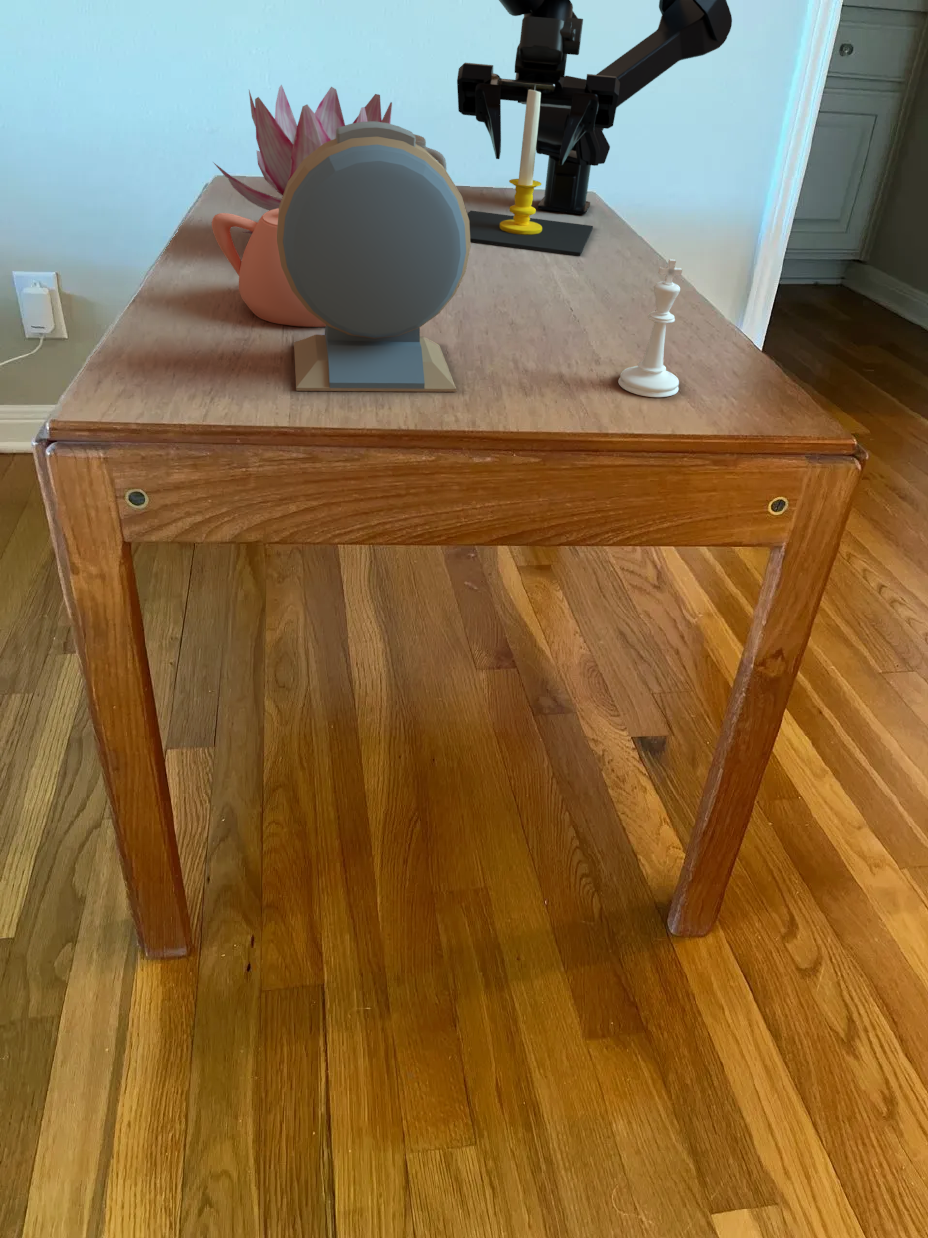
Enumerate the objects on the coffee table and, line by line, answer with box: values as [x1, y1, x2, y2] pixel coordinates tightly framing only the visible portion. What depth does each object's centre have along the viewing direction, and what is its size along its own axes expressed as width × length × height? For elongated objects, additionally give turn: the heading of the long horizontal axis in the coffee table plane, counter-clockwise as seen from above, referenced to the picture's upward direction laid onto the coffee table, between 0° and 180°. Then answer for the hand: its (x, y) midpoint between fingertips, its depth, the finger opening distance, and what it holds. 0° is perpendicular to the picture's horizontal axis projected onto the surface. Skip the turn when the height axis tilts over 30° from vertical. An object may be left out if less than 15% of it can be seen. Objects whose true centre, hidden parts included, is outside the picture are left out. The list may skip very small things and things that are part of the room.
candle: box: [500, 87, 542, 235], centre depth 112 cm, size 5×5×16 cm
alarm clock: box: [277, 121, 472, 393], centre depth 71 cm, size 14×10×18 cm
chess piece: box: [617, 258, 683, 398], centre depth 75 cm, size 5×5×10 cm
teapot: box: [211, 208, 326, 328], centre depth 85 cm, size 12×18×10 cm
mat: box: [467, 210, 594, 257], centre depth 116 cm, size 14×16×1 cm
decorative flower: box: [212, 84, 393, 235], centre depth 99 cm, size 21×21×15 cm
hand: (529, 159), depth 110 cm, fingers open, 7 cm apart
